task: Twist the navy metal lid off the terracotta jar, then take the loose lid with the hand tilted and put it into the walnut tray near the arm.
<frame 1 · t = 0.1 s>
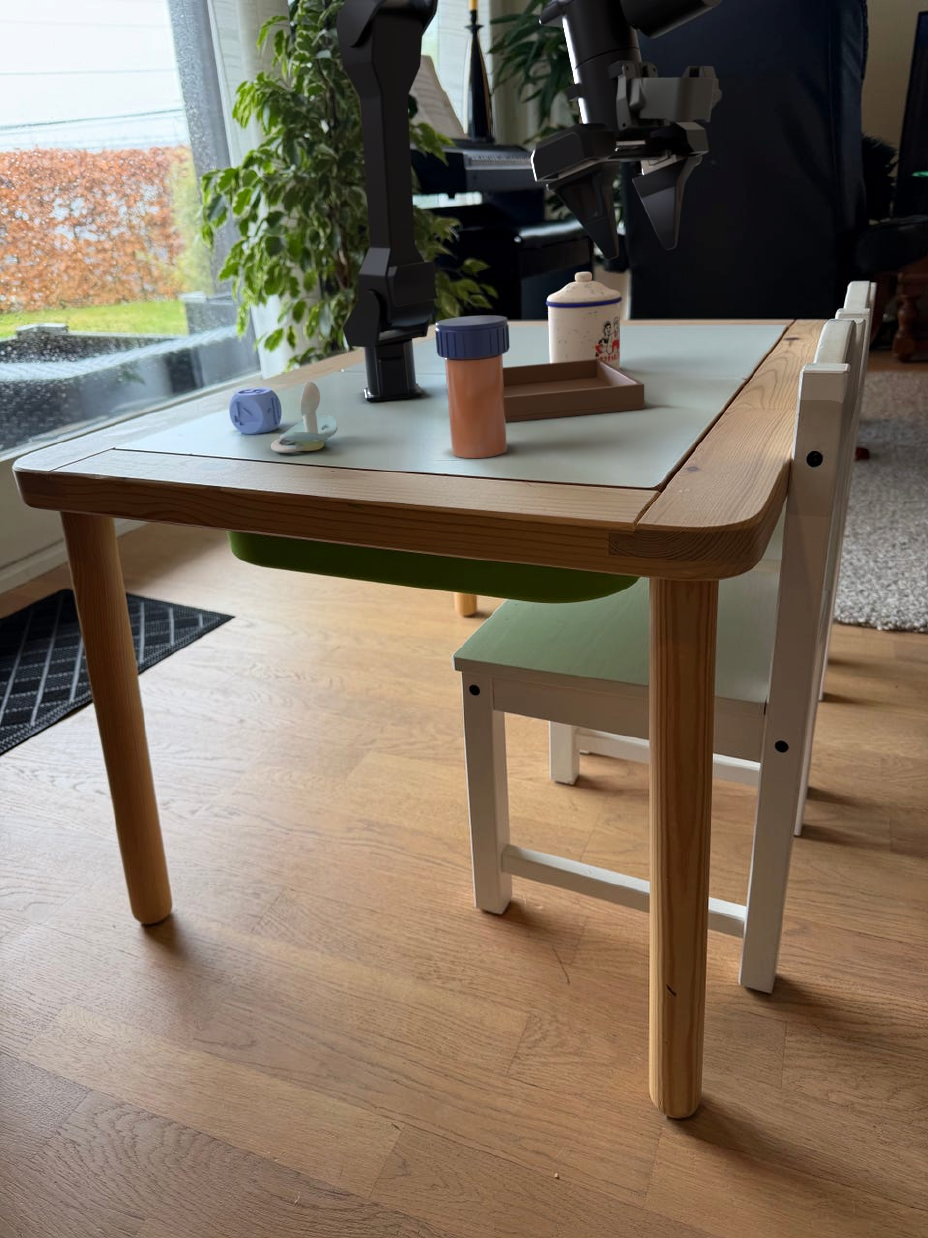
hand: (642, 252, 84), 15 cm above the table, tool pointing down, fingers open, 9 cm apart
lid: (471, 325, 81), point 11 cm above the table, screwed on, not yet turned
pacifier: (304, 449, 92), on the table
decorative dice: (259, 431, 100), on the table
jar: (479, 451, 86), on the table
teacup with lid: (588, 371, 119), on the table
tray: (553, 399, 104), on the table
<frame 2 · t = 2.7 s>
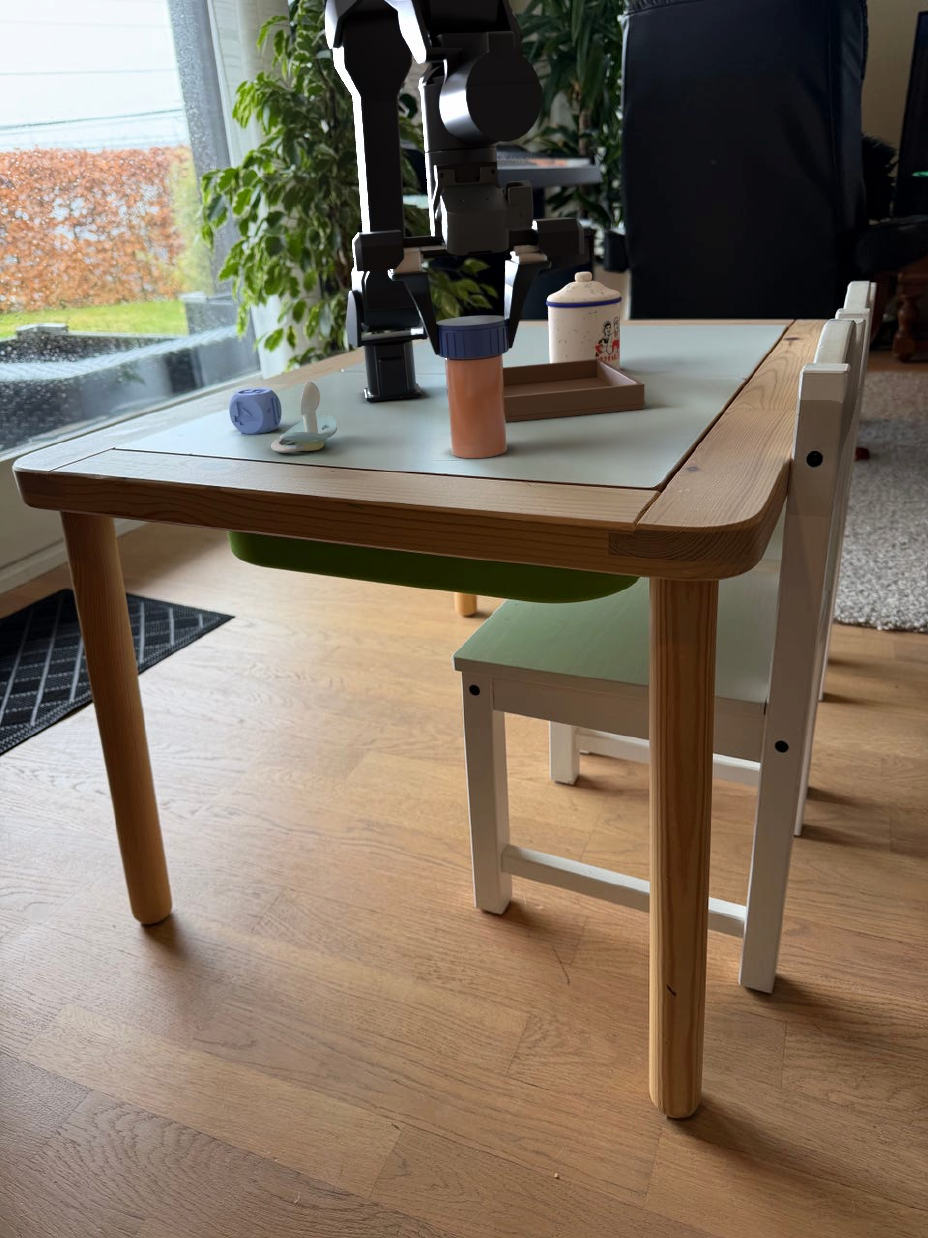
hand: (473, 351, 82), 9 cm above the table, tool pointing down, fingers closed on lid, 6 cm apart
lid: (471, 325, 81), point 11 cm above the table, screwed on, not yet turned, touching gripper
everything else where it was.
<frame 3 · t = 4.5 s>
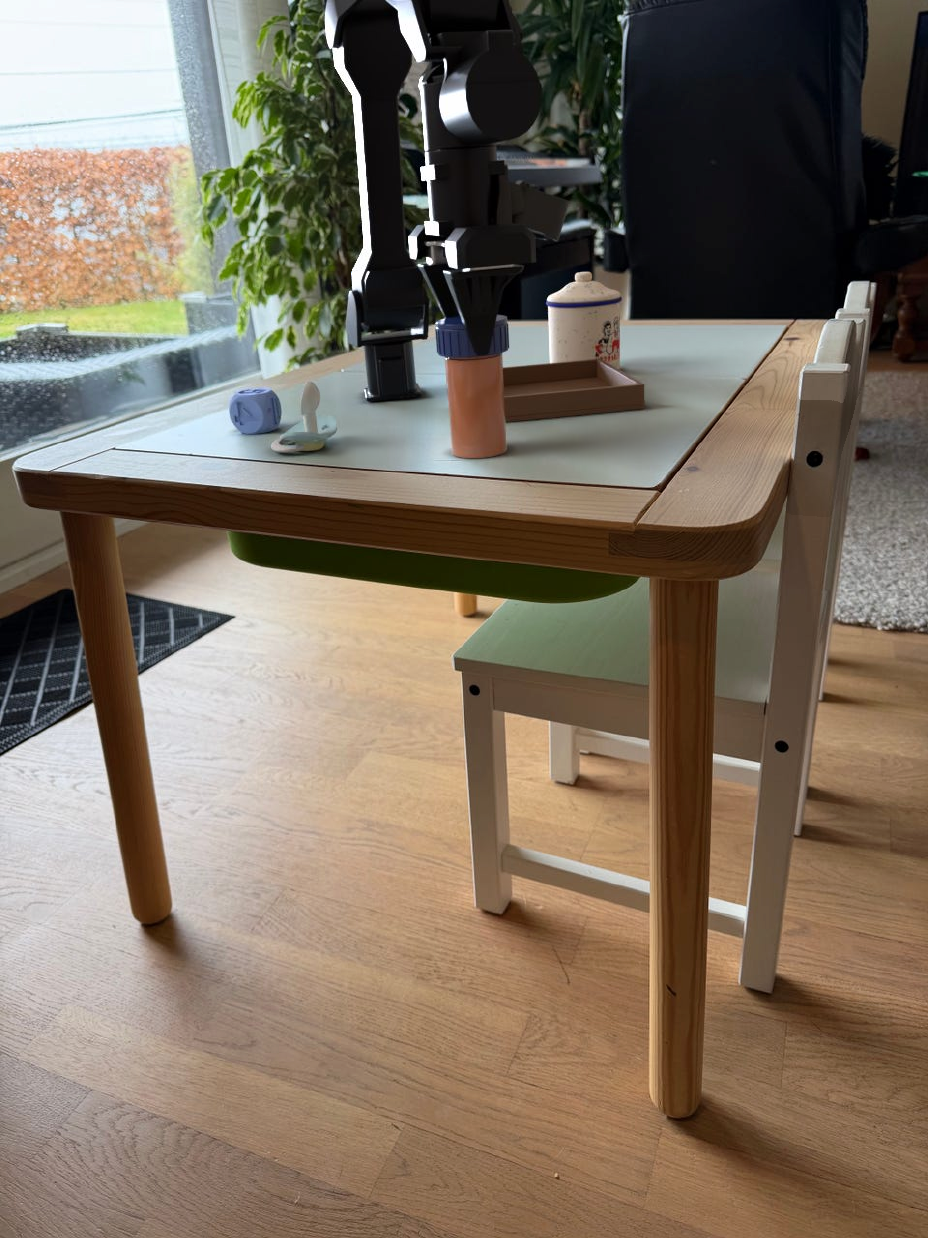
hand: (472, 350, 82), 9 cm above the table, tool pointing down, fingers closed on lid, 6 cm apart
lid: (471, 324, 81), point 11 cm above the table, off its thread, touching gripper
everything else where it was.
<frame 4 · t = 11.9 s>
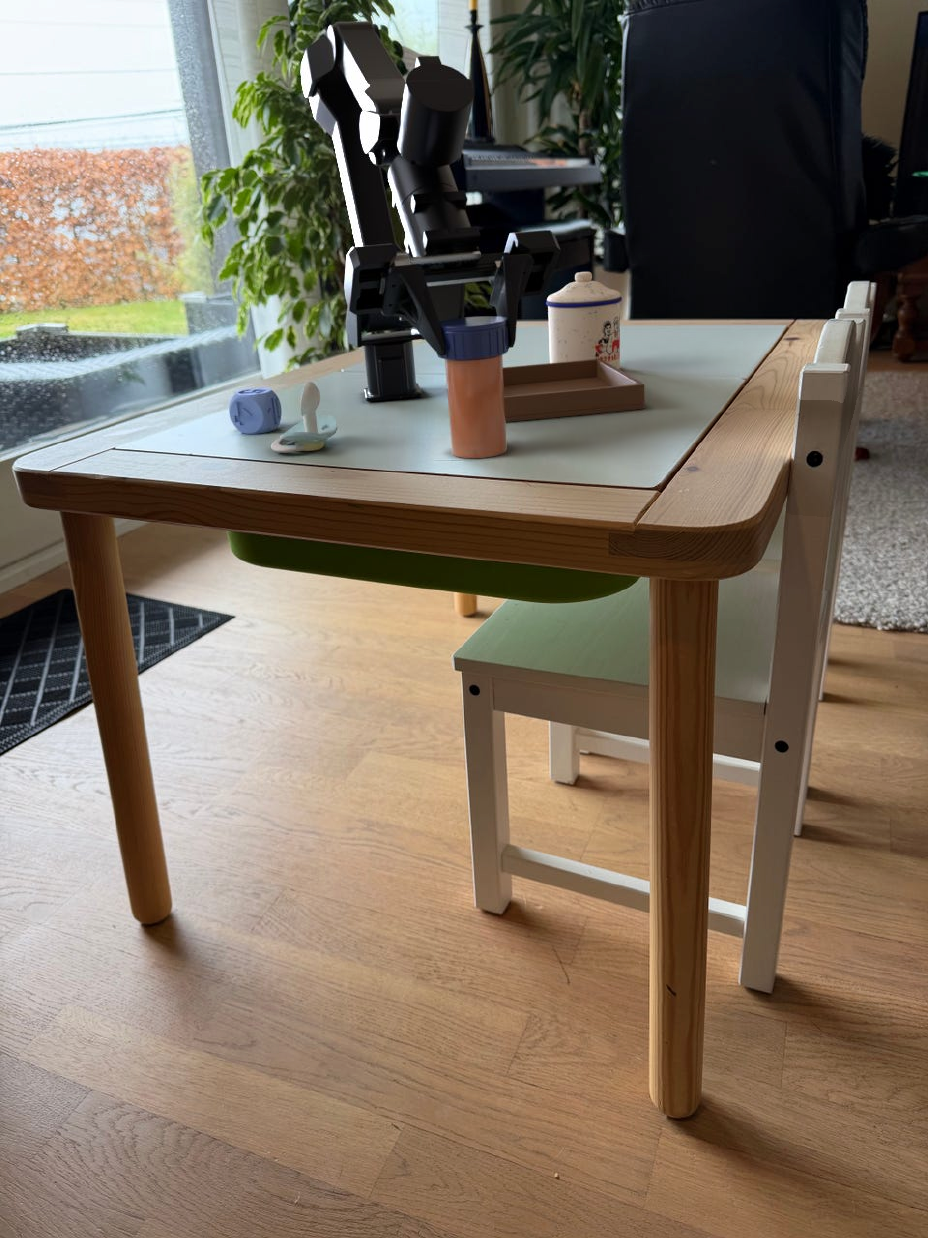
hand: (478, 348, 81), 9 cm above the table, tool tilted 45°, fingers closed on lid, 6 cm apart
lid: (471, 326, 81), point 11 cm above the table, off its thread, touching gripper, jar
jar: (479, 451, 86), on the table, touching lid
everything else where it was.
when the fingers open (2 cm above the table, at t = 19.3 s): lid drops 1 cm, resting on tray.
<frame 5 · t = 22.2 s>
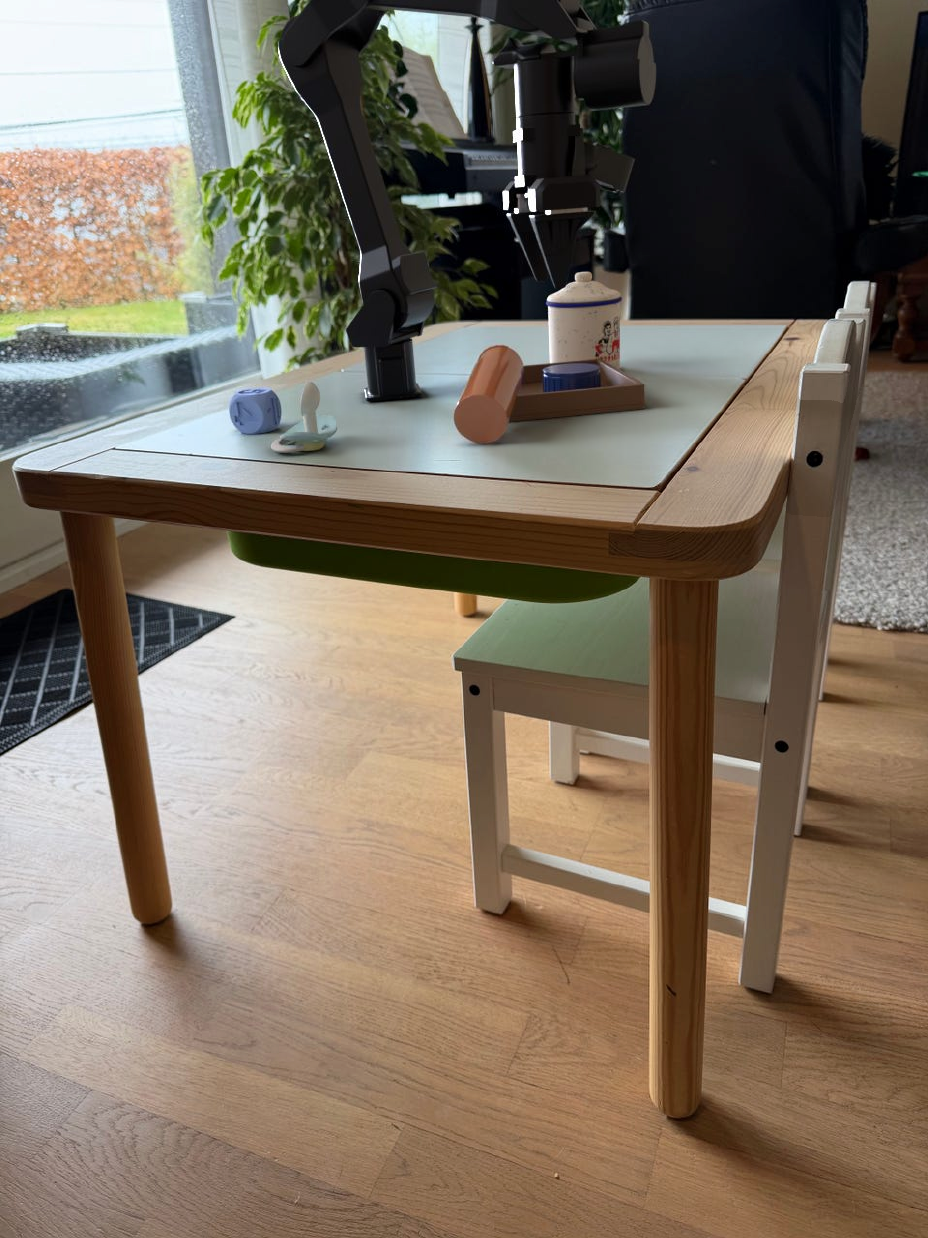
hand: (550, 284, 99), 12 cm above the table, tool pointing down, fingers open, 9 cm apart
lid: (571, 371, 103), point 3 cm above the table, off its thread, touching tray
jar: (480, 419, 86), point 2 cm above the table, tilted 75°, touching tray
everything else where it was.
at the end: lid came off its thread; lid inside the target area in the tray (2.1 cm from its centre), point 2.8 cm above the tray's base; the gripper is holding nothing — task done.
